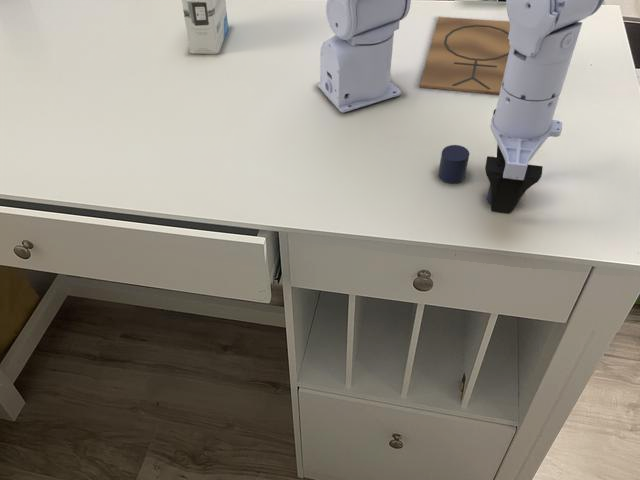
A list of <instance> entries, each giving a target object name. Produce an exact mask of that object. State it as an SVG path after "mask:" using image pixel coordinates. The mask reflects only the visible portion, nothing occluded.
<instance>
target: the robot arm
mask: <svg viewBox="0 0 640 480" xmlns="http://www.w3.org/2000/svg"><path fill="white" fill-rule="evenodd" d="M604 1H605V0H505V5H506V6H505V7H506V13H507V14H506V15H507V17H508V22H510V31H509V35H508V39H509V40H510V41H509V45H510V50H509V55H508V59H507V63H506V68H505V72H504V76H503V81H502V85H501V89H500V94H498V98H497V102H496V107H495V109H494V110H493V112H492V113H493V114H492V116H491V120H490V126H489V127H490V131H491V133H492V135H493V137H494V140H495V142H496V144H497V146H496V156H489V155H487V156H486V159H485V166H484V167H485V168H484V172H485V176H486V177H487V180H488V182H489V186H491V205H490V210H491V212H492V213H499V214H505V215H510V214H512V212H513V211H514V209H515V208H516V206H517V205H518V204H519V202H520V200H521V198H522V197H523V196H524V195H525V193H526V192H527V191H528V190H529V189H530V188H531V187H533V186H534V185H536V184H537V183H538V182H539V181H540V180H541V178H542V175H543V167H544V166H543V165H536V164H529V163H530V161H531V160H532V159H533V157H534V156H535V155H536V153H537V152H538V151H539V149H540V148H541V147H542V146H543V144H544V143H545V142H546V140H547V139H548V138H550V137H553V138H558V137H560V136H561V134H562V131H563V123H562V121H560V120H557V119H554V117H555V116H554V115H555V112H556V110H557V106H558V103H559V99H560V98H561V97H560V96H561V93H562V90H563V87H564V83H565V81H566V77H567V74H568V71H569V68H570V65H571V61H572V59H573V56H574V51H575V48H576V45H577V42H578V38H579V35H580V32H581V29H582V25H583V22H582V21H583V20H585V19H587V18H588V17H591V16H593V15H594V14H595V13H597V12H598V11H599V10H600V8H601V7H602V5H603V3H604ZM411 3H412V0H327V1H326V5H325V8H326V9H325V10H326V19H327V22H328V25H329V27H330V29H331V31H332V32H333V34H335V35H333V36H332V37H330V38H328V39H326V40H323V42H322V43H321V46H320V55H319V56H320V57H319V59H320V60H319V61H320V63H319V65H320V66H319V69H320V71H319V73H320V74H319V76H320V78H319V80H320V81H319V82H318V84H317V87H318V88H319V89H320V90H321V92H322V93H323V94H324V96H326V97H327V99H328V100H330V102H331V103H332V104H333V105H334V106H335V107H336V109H337V110H339V112H340V113H347V112H350V111H353V110H357V109H360V108H363V107H366V106H369V105H373V104H376V103H380V102H382V101H385V100H389V99H392V98H395V97H399V96H401V95H402V91H401V89H399V88H398V87H397V86H396V85H395V84H394V83H393V82H392V81H391V71H392V70H391V69H392V59H393V58H392V57H393V49H394V48H393V47H394V36H395V31H397V30H399V29H400V22H401V21H402V20H404V19H405V18H407V16H408V14H409V12H410V9H411Z"/></svg>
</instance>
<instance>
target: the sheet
mask: <svg viewBox="0 0 640 480" xmlns="http://www.w3.org/2000/svg"><path fill="white" fill-rule="evenodd" d="M509 31H510V21H506V20H493V19H492V20H490V19H488V20H487V19H475V18H462V17H461V18H460V17H444V16H438V18H437V21H436V25H435V29H434V34H433V36H432V39H431V43H430V47H429V50H428V53H427V58H426V61H425V65H424V68H423V72H422V75H421V79H420V82H419V88H426V89H427V88H428V89H436V90H446V91H456V92H457V91H458V92H470V93H479V94H489V95H491V94H492V95H499V94H500V89H501V85H502V81H503V76H504V72H505V68H506V63H507V59H508V55H509V50H510V45H509V41H510V40H509V39H508V35H509Z"/></svg>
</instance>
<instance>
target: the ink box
mask: <svg viewBox="0 0 640 480" xmlns="http://www.w3.org/2000/svg"><path fill="white" fill-rule="evenodd" d="M226 2H227V1H226V0H181V4H182V11H183V17H184V23H185V29H186V37H187V43H188V48H189V53H190V54H194V55H195V54H197V55H199V54H202V55H204V54H205V55H207V54H208V55H217V54H219V53H220V51H221V48H222V46H223V43H224V41H225V39H226V35H227V33H228V30H229V22H228V12H227V3H226Z"/></svg>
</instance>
